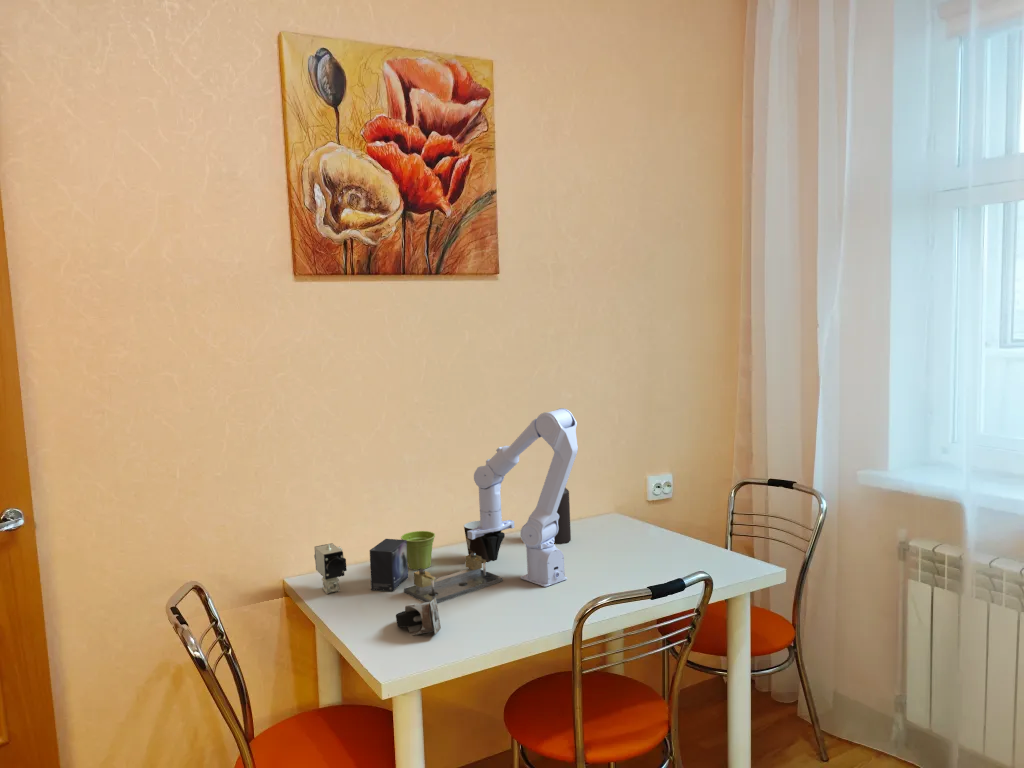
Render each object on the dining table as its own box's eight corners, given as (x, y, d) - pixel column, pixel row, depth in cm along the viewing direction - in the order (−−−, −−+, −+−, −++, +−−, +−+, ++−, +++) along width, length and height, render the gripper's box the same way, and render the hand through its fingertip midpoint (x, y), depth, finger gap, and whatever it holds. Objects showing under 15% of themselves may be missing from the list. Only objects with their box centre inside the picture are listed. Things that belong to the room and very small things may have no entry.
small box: (394, 592, 185) (392, 551, 184) (370, 591, 187) (367, 550, 186) (409, 577, 195) (407, 538, 195) (386, 576, 197) (384, 538, 196)
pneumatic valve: (328, 599, 182) (325, 552, 181) (315, 586, 192) (312, 540, 191) (350, 594, 184) (347, 547, 183) (336, 581, 195) (333, 537, 194)
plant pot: (443, 563, 206) (442, 532, 205) (423, 574, 198) (421, 542, 197) (416, 559, 210) (415, 529, 210) (395, 569, 202) (393, 538, 202)
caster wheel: (403, 631, 167) (446, 623, 167) (391, 642, 156) (437, 634, 155) (398, 601, 168) (441, 593, 168) (386, 610, 157) (432, 601, 156)
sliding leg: (489, 574, 191) (489, 556, 190) (481, 576, 189) (481, 558, 189) (473, 568, 196) (472, 550, 195) (465, 570, 194) (465, 553, 194)
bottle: (574, 539, 223) (572, 473, 222) (564, 545, 217) (561, 478, 216) (555, 536, 227) (552, 472, 225) (544, 542, 221) (541, 476, 219)
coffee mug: (495, 564, 203) (493, 528, 202) (464, 565, 203) (462, 529, 203) (497, 551, 215) (495, 517, 214) (467, 552, 215) (466, 518, 214)
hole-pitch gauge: (502, 581, 190) (501, 558, 189) (431, 605, 175) (430, 580, 175) (474, 570, 199) (472, 548, 198) (404, 592, 184) (402, 569, 184)
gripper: (501, 502, 204) (504, 550, 205) (459, 512, 195) (462, 563, 196) (518, 506, 199) (520, 555, 200) (475, 517, 189) (478, 568, 191)
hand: (492, 559), depth 198 cm, fingers closed
